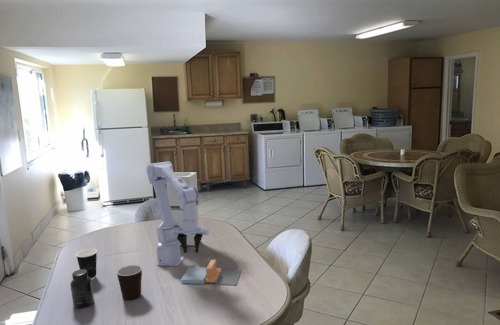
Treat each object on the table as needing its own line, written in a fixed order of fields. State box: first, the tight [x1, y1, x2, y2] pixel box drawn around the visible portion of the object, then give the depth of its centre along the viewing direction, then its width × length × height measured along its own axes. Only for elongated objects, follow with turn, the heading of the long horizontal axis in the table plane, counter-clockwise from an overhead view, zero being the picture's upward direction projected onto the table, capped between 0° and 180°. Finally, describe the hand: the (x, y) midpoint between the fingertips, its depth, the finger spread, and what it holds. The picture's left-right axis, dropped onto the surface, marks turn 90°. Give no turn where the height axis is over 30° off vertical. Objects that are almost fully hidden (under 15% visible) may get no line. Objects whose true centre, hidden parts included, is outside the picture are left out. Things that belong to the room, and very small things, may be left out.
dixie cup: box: [75, 248, 98, 281], centre depth 154 cm, size 8×8×11 cm
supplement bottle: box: [70, 269, 95, 310], centre depth 134 cm, size 7×7×12 cm
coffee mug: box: [116, 264, 143, 302], centre depth 140 cm, size 12×9×10 cm
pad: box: [215, 269, 242, 286], centre depth 150 cm, size 8×12×1 cm, turn 172°
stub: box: [205, 259, 222, 284], centre depth 151 cm, size 4×10×5 cm, turn 172°
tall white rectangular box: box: [165, 171, 200, 251], centre depth 184 cm, size 11×11×35 cm
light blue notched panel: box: [180, 266, 207, 285], centre depth 152 cm, size 9×11×2 cm
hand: (191, 251), depth 151 cm, fingers open, 4 cm apart
